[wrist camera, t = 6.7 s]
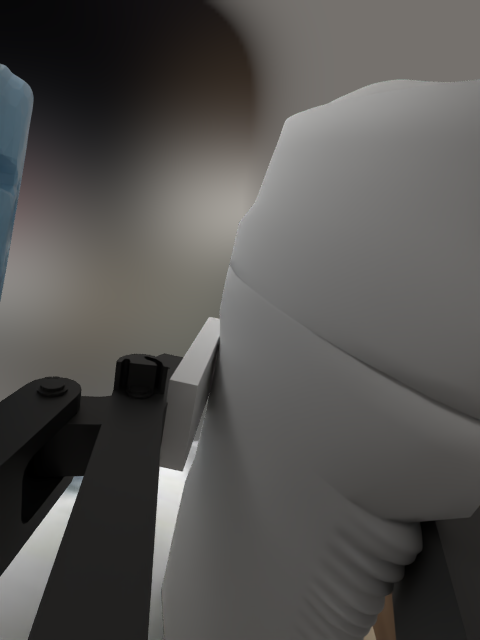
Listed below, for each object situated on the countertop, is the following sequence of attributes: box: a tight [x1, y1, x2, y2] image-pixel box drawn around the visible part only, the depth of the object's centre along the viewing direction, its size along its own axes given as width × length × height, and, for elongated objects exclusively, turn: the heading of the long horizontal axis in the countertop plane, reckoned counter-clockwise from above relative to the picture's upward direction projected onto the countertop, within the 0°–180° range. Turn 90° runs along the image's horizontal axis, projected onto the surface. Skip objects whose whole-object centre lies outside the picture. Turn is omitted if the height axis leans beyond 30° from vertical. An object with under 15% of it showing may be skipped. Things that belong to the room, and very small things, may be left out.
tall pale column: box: [161, 79, 480, 640], centre depth 11 cm, size 11×4×22 cm, turn 25°
